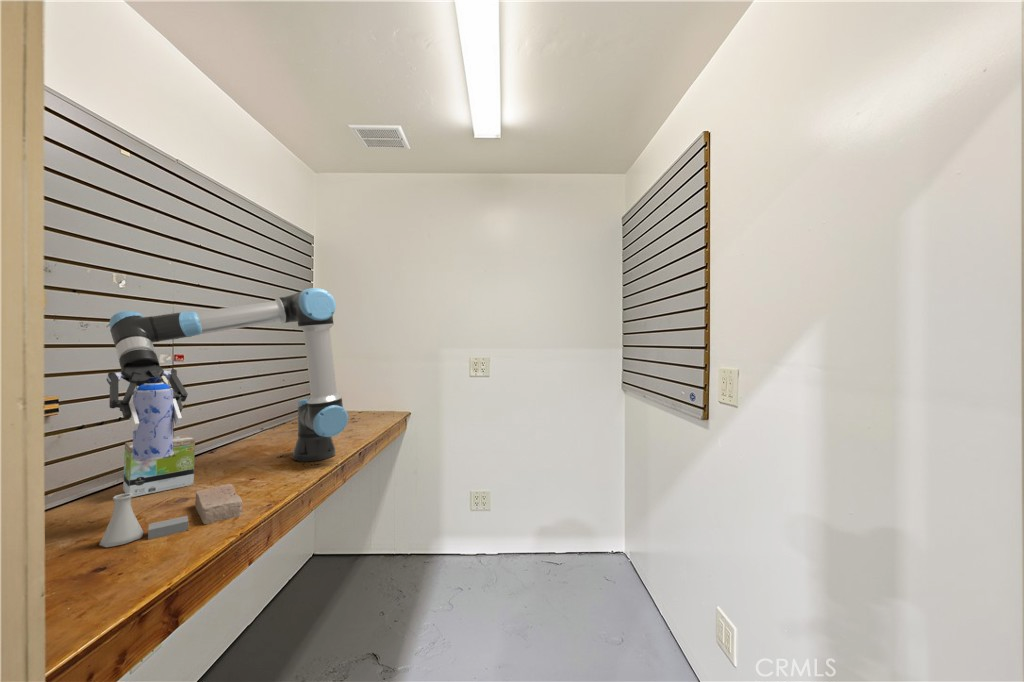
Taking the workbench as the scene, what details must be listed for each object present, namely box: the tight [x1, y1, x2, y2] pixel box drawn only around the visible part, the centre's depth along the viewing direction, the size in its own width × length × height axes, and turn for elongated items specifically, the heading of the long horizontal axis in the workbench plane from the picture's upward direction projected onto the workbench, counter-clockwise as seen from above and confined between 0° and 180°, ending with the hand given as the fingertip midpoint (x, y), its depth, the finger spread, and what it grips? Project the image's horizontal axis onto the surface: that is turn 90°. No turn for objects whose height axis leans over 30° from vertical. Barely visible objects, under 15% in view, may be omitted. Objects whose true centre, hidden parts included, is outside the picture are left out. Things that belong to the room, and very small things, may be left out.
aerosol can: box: [132, 377, 174, 461], centre depth 100 cm, size 8×8×20 cm
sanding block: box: [147, 515, 189, 541], centre depth 93 cm, size 7×4×2 cm, turn 131°
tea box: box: [122, 434, 196, 499], centre depth 122 cm, size 15×10×15 cm, turn 141°
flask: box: [99, 493, 145, 548], centre depth 89 cm, size 7×7×10 cm
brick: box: [194, 483, 243, 525], centre depth 105 cm, size 17×8×5 cm, turn 44°
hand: (158, 424), depth 98 cm, fingers closed on aerosol can, 7 cm apart
